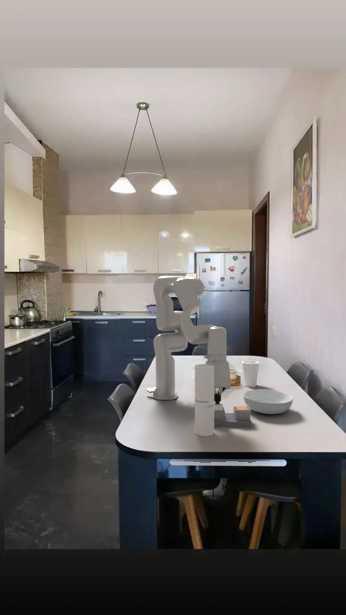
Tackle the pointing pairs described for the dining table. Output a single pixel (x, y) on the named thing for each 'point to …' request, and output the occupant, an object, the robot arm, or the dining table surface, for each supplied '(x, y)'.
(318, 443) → the dining table surface
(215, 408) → the key ivory
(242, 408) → the key terracotta
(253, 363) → the foam cup
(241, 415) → the key panel
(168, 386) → the robot arm
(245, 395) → the serving bowl
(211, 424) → the cylindrical container
